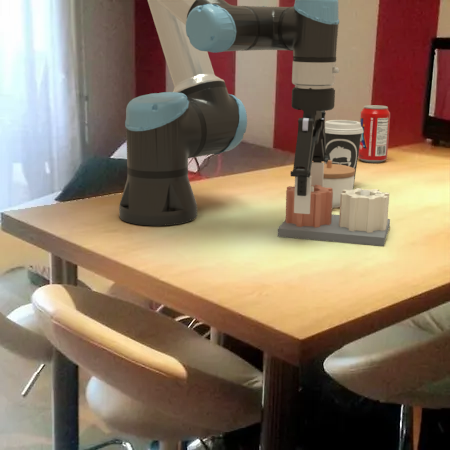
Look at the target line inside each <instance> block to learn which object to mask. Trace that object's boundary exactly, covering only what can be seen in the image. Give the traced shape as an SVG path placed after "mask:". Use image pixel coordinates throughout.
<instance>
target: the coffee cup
mask: <svg viewBox="0 0 450 450" xmlns="http://www.w3.org/2000/svg"><path fill="white" fill-rule="evenodd" d="M363 132H364V131H363V128H362V127H361V123H360V121H357V120H349V119H331V120H325V139H326V156H328V160H331V161H332V164H339V165H346V166H350V167H352V168H354V169H355V175H354V182H355V179H356V174H357V168H358V167H357V165H358V159H359V158H358V153H359V146H360V140H361V133H363ZM323 163H324V164H327V162H323ZM354 187H355V184H354V185H353V189H354Z"/></svg>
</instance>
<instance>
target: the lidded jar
mask: <svg viewBox="0 0 450 450" xmlns="http://www.w3.org/2000/svg"><path fill="white" fill-rule="evenodd" d="M354 175H355V176H356V174H355V169H354V168H352V167H350V166H346V165H339V164H332V161H331V160H328V162H327V164H324V175H323V187H325V188H332V189H333V190H332V192H333V199H332V209H338V208H340V197H341V193H342V191H343V190H354V188H353V185H354V186H355V181H354Z"/></svg>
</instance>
